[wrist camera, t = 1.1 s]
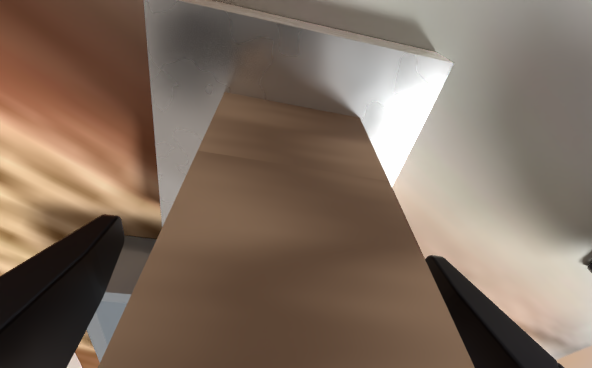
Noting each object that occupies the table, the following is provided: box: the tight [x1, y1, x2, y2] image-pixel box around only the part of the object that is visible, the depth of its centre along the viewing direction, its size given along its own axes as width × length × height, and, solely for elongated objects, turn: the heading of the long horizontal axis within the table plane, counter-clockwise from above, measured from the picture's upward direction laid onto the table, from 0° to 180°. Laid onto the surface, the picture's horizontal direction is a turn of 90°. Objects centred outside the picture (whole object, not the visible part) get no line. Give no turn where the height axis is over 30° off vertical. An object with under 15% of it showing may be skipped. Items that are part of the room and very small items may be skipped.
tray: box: [87, 235, 157, 362], centre depth 21 cm, size 15×15×4 cm
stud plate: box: [143, 0, 454, 227], centre depth 12 cm, size 10×10×5 cm
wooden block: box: [98, 92, 475, 368], centre depth 9 cm, size 5×5×9 cm
